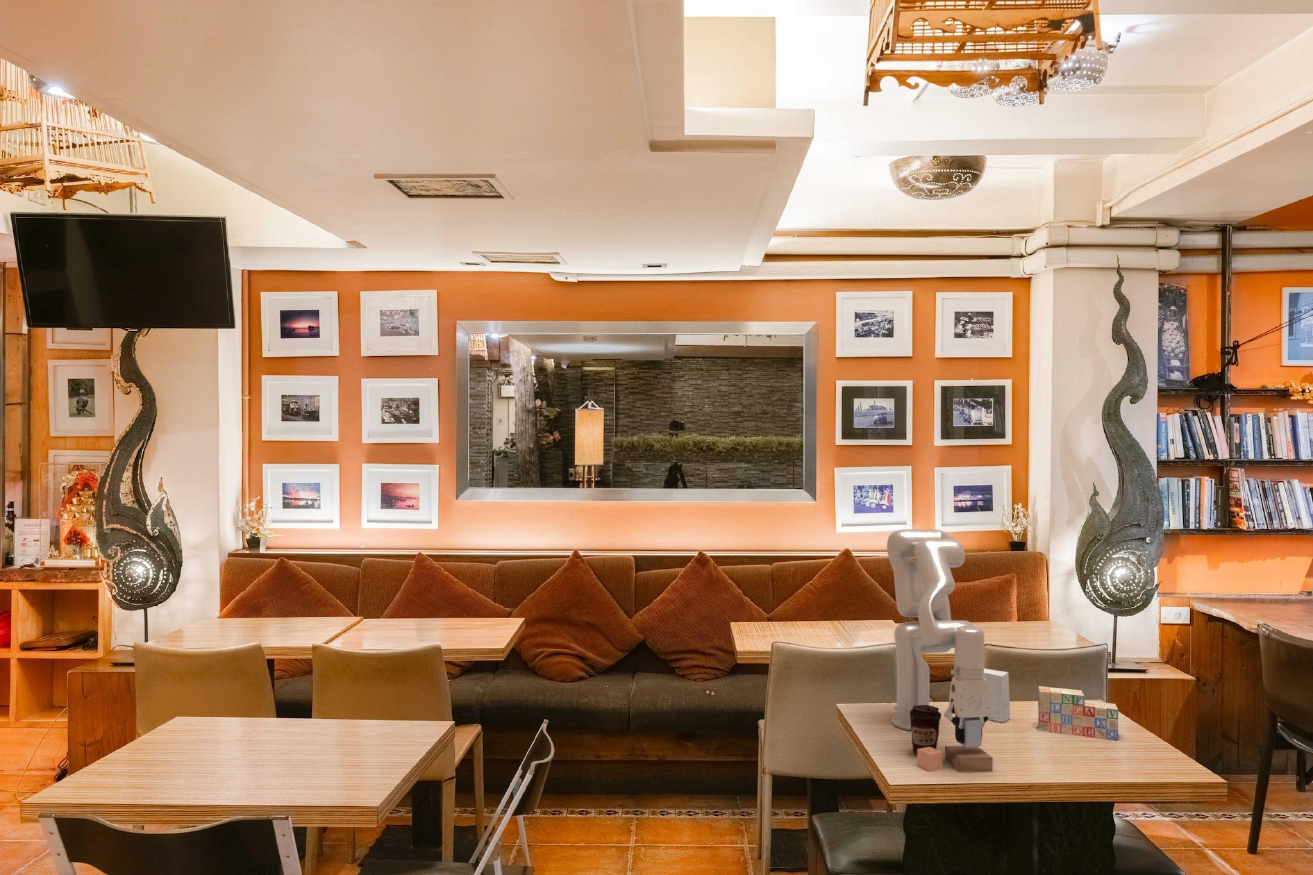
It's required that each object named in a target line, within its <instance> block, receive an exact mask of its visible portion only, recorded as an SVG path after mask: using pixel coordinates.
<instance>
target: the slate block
mask: <svg viewBox="0 0 1313 875" xmlns="http://www.w3.org/2000/svg"><path fill="white" fill-rule="evenodd" d="M963 728H964V729H965V742H964V743H963V744H962V743H960V742H958V741H957V740H955V741H956V743H958V744H960V746H965V747H977V746H978V747H982V742H981V719H979V718H965V719H964V724H963Z"/></svg>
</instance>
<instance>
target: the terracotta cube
mask: <svg viewBox="0 0 1313 875" xmlns="http://www.w3.org/2000/svg"><path fill="white" fill-rule="evenodd" d="M916 758H917V760H916V763H917V764H916V766H917V767H919V768H921V769H924V770H926V771H928V772H933V771H938V770H942V769H943V751H941V750H938V749H937V748H936V749H934V748H932V747H925V748H921V749H917V755H916Z"/></svg>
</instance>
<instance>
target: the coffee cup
mask: <svg viewBox="0 0 1313 875" xmlns="http://www.w3.org/2000/svg"><path fill="white" fill-rule="evenodd" d="M939 710H940V709H939V708H938V707H936V706H934V705H930V704H929V705H918V706H913V709H912V710H911V711H910V718H911V731H910V733H911V744H912V754H913V755H914V756H917V749H921V748H925V747H932V748H934V749H936V750H937V746H938V739H939V734H940V721H941V719H942V713H941V712H940V711H939Z"/></svg>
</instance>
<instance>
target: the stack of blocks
mask: <svg viewBox="0 0 1313 875" xmlns="http://www.w3.org/2000/svg"><path fill="white" fill-rule="evenodd" d="M1037 708H1038V709H1037V710H1038V714H1037V715H1038V716H1037V718H1038V720H1037V721H1038V722H1037V723H1038V730H1039V731H1040V732H1045V731H1047V732H1048V733H1052V734H1053V733H1055V734H1062V735H1067V736H1068V735H1069V736H1079V737H1085V738H1087V737H1088V738H1095V739H1102V738H1103V740H1104V739H1105V740H1110V739H1111V740H1113V741H1118V740H1119V709H1118V707H1117V705H1116V703H1111V702H1102V701H1101V702H1100V701H1094V700H1093V701H1092V700H1085V694H1084V693H1083V690H1080V689H1071V688H1060V687H1059V688H1058V687H1049V686H1043V685H1042V686H1040V685H1039V686H1038V695H1037Z"/></svg>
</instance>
